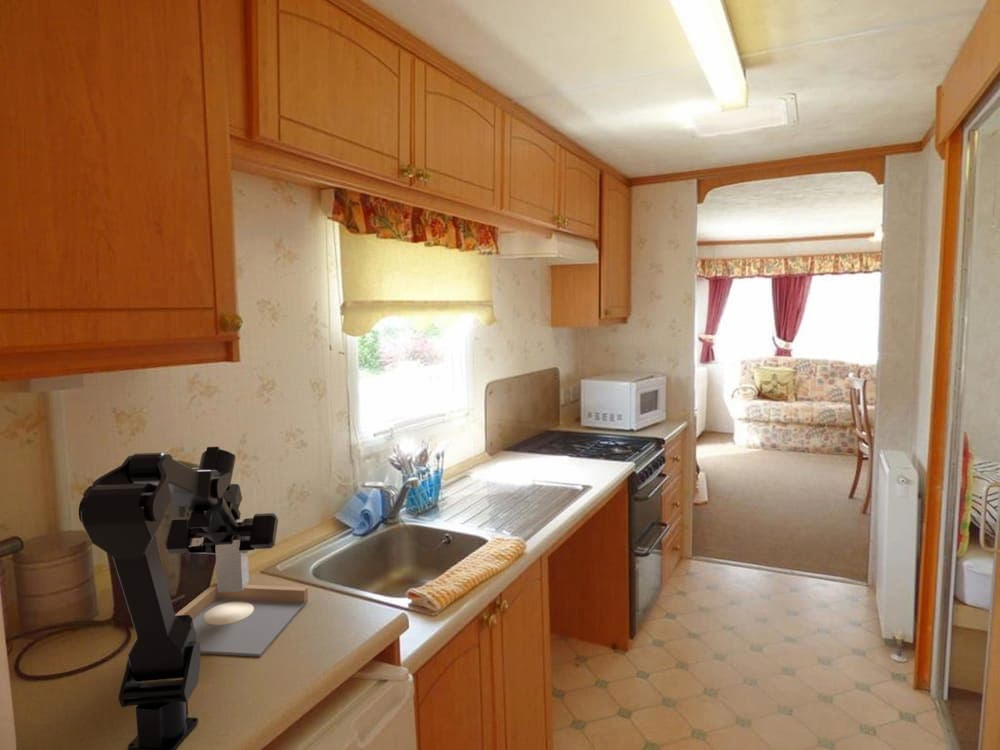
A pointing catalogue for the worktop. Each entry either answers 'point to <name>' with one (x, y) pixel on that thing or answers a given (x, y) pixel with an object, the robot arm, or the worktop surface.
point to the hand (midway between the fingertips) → (234, 551)
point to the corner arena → (243, 617)
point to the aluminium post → (231, 566)
